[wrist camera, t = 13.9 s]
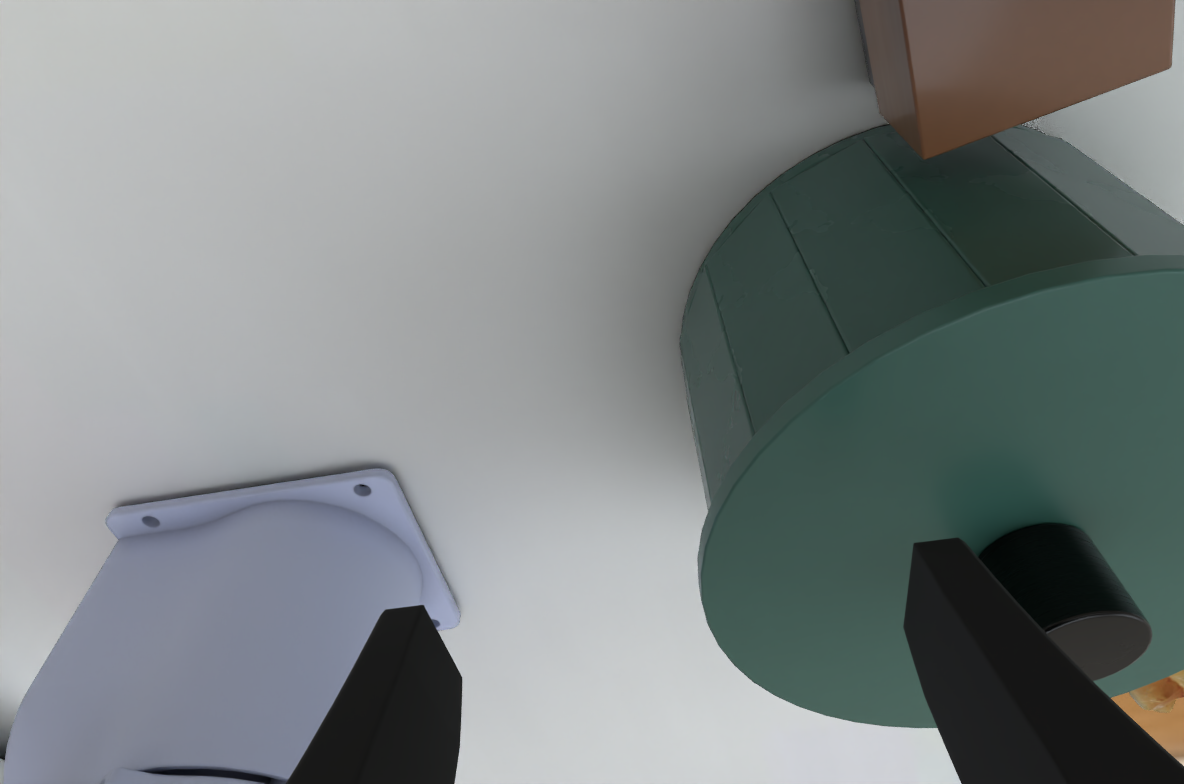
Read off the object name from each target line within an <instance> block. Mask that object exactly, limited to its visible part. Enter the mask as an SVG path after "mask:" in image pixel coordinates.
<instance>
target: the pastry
mask: <svg viewBox="0 0 1184 784" xmlns="http://www.w3.org/2000/svg"><path fill="white" fill-rule="evenodd" d="M1129 694H1130V695H1131V697H1132V698H1133V699H1134V700H1135V702H1136V703H1137V704H1138V705H1139V706H1140V707H1141V708H1143V709H1144V710H1153V711H1156V712H1161V713H1170V711H1171V710H1172V709H1173V706H1174V704H1175V701H1176V699H1178V698H1181V697H1184V670H1182V671H1180V672H1177V673H1175V674H1173V675H1171V676H1169V677H1166V678H1164V679H1161V680H1159V681H1156V682H1153V683H1151V684H1148V685H1146V686H1143V687H1140V688H1138V689H1135V690H1133V691H1130V692H1129Z"/></svg>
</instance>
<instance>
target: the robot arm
mask: <svg viewBox="0 0 1184 784" xmlns="http://www.w3.org/2000/svg"><path fill="white" fill-rule="evenodd" d="M359 484H363V485H366V486H368V487H362V486H360V485H359ZM105 523H106V525H107V527H108V528H109V529H110V530H111V532H112V533H113V534H114V535H115V536H116V537H117V539H118V542H117V543H116V545H115V546H114V548H113V550H112V551H111V553H110V555H109V556H108V558H107V560H106V561H105V563H104V565H103V566H102V568H101V570H100V571H99V573H98V575H97V576H96V578H95V580H94V581H93V583H92V585H91V586H90V588H89V590H88V591H87V593H86V595H85V596H84V598H83V600H82V601H81V603H80V605H79V606H78V608H77V609H76V611H75V613H74V614H73V616H72V618H71V619H70V621H69V623H68V624H67V626H66V628H65V629H64V631H63V633H62V634H61V636H60V638H59V639H58V641H57V643H56V644H55V646H54V648H53V649H52V651H51V653H50V654H49V656H48V658H47V659H46V661H45V663H44V664H43V666H42V668H41V669H40V671H39V672H38V674H37V676H36V677H35V679H34V681H33V682H32V684H31V686H30V687H29V689H28V691H27V692H26V694H25V696H24V698H23V700H22V702H21V704H20V706H19V708H18V711H17V714H16V716H15V719H14V722H13V725H12V727H11V732H10V736H9V740H8V744H7V749H6V755H5V764H4V784H454V782H455V776H456V769H457V762H458V755H459V748H460V730H461V706H462V676H461V674H460V673H459V671H458V669H457V667H456V665H455V663H454V661H453V659H452V657H451V656H450V654H449V652H448V650H447V648H446V646H445V644H444V642H443V640H442V639H441V637H440V635H439V633H438V630H446V629H451V628H454V627H456V626H458V624H459V622H460V616H461V615H460V611H459V609H458V607H457V604H456V602H455V600H454V598H453V596H452V594H451V592H450V590H449V588H448V586H447V584H446V582H445V579H444V577H443V575H442V573H441V571H440V569H439V567H438V565H437V563H436V561H435V559H434V557H433V555H432V552H431V550H430V548H429V546H428V544H427V542H426V540H425V538H424V536H423V534H422V532H421V530H420V527H419V525H418V523H417V521H416V519H415V517H414V515H413V513H412V511H411V509H410V507H409V505H408V503H407V500H406V498H405V496H404V494H403V492H402V490H401V488H400V486H399V484H398V482H397V480H396V478H395V476H394V475H393V474H392V473H391V472H389V471H387V470H384V469H369V470H362V471H355V472H349V473H342V474H335V475H329V476H322V477H315V478H309V479H302V480H296V481H289V482H282V483H276V484H269V485H262V486H256V487H249V488H243V489H236V490H229V491H223V492H216V493H209V494H203V495H196V496H189V497H183V498H176V499H170V500H163V501H156V502H150V503H143V504H136V505H130V506H123V507H117V508H114V509H112V511H111V512H110V513H109V515H108V516H107V518H106V522H105ZM903 628H904V631H905V635H906V638H907V641H908V645H909V648H910V651H911V655H912V658H913V661H914V665H915V668H916V671H917V674H918V677H919V681H920V684H921V687H922V690H923V693H924V696H925V699H926V701H927V704H928V706H929V709H930V711H931V713H932V716H933V718H934V720H935V723H936V725H937V728H938V730H939V732H940V735H941V737H942V739H943V742H944V744H945V746H946V749H947V751H948V753H949V756H950V758H951V760H952V763H953V765H954V767H955V770H956V772H957V774H958V776H959V779H960V781H961V783H962V784H1184V766H1183V765H1182V764H1181V763H1179V762H1178V761H1177V760H1176V759H1175V758H1174V757H1173V756H1172V755H1171V754H1169V753H1168V752H1167V751H1166V750H1165V749H1164V748H1163V747H1162V746H1161V745H1160V744H1158V743H1157V742H1156V741H1155V740H1154V739H1153V738H1152V737H1151V736H1150V735H1149V734H1148V733H1147V732H1146V731H1144V730H1143V729H1142V728H1141V727H1140V726H1139V725H1138V724H1137V723H1136V722H1135V721H1134V720H1133V719H1132V718H1131V717H1129V716H1128V715H1127V714H1126V713H1125V712H1124V711H1123V710H1122V709H1121V708H1120V707H1119V706H1118V705H1117V704H1116V703H1115V702H1114V701H1113V700H1112V699H1111V698H1110V697H1109V696H1108V695H1107V694H1106V693H1104V692H1103V691H1102V690H1101V689H1100V688H1099V687H1098V686H1097V685H1096V684H1095V683H1094V682H1093V681H1092V680H1091V679H1090V678H1089V677H1088V676H1087V675H1086V674H1085V673H1084V671H1083V670H1082V669H1081V668H1080V667H1079V666H1078V665H1077V664H1076V663H1075V662H1074V661H1073V660H1072V659H1071V658H1070V657H1069V656H1068V655H1067V654H1066V653H1065V652H1064V651H1063V650H1062V649H1061V648H1060V647H1059V646H1058V645H1057V644H1056V643H1055V642H1054V641H1053V640H1052V639H1051V638H1050V637H1049V636H1048V635H1047V634H1046V633H1045V631H1044V630H1043V629H1042V628H1041V627H1040V626H1039V625H1038V624H1037V623H1036V622H1035V621H1034V620H1033V619H1032V618H1031V616H1030V615H1029V614H1028V613H1027V612H1026V611H1025V610H1024V609H1023V608H1022V607H1021V606H1020V604H1019V603H1018V602H1017V601H1016V600H1015V599H1014V598H1013V597H1012V596H1011V594H1010V593H1009V592H1008V591H1007V590H1006V589H1005V588H1004V587H1003V585H1002V584H1001V583H1000V582H999V581H998V580H997V579H996V578H995V576H994V575H993V574H992V573H991V572H990V571H989V569H988V568H987V567H986V566H985V565H984V564H983V562H982V561H981V560H980V559H979V558H978V557H977V555H976V554H975V553H974V552H973V551H972V549H971V548H970V547H969V546H968V545H967V543H966V542H965V541H963V540H961V539H960V538H958V537H957V538H949V539H941V540H934V541H926V542H918V543H914V544H913V552H912V560H911V568H910V577H909V585H908V593H907V601H906V609H905V617H904V625H903Z"/></svg>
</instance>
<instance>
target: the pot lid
mask: <svg viewBox="0 0 1184 784" xmlns="http://www.w3.org/2000/svg"><path fill="white" fill-rule="evenodd" d="M957 537H958V538H960V539H961V540H963V541H965V542H966V543H967V545H968V546H969V547H970V548H971V549H972V551H973V552H974V553H975V554H976V555H977V557H978V558H979V559H980V560H981V561H982V562H983V564H984V565H985V566H986V567H987V568H988V569H989V571H990V572H991V573H992V574H993V575H994V576H995V578H996V579H997V580H998V581H999V582H1000V583H1001V584H1002V585H1003V587H1004V588H1005V589H1006V590H1007V591H1008V592H1009V593H1010V594H1011V596H1012V597H1013V598H1014V599H1015V600H1016V601H1017V602H1018V603H1019V604H1020V606H1021V607H1022V608H1023V609H1024V610H1025V611H1026V612H1027V613H1028V614H1029V615H1030V616H1031V618H1032V619H1033V620H1034V621H1035V622H1036V623H1037V624H1038V625H1039V626H1040V627H1041V628H1042V629H1043V630H1044V631H1045V633H1046V634H1047V635H1048V636H1049V637H1050V638H1051V639H1052V640H1053V641H1054V642H1055V643H1056V644H1057V645H1058V646H1059V647H1060V648H1061V649H1062V650H1063V651H1064V652H1065V653H1066V654H1067V655H1068V656H1069V657H1070V658H1071V659H1072V660H1073V661H1074V662H1075V663H1076V664H1077V665H1078V666H1079V667H1080V668H1081V669H1082V670H1083V671H1084V673H1085V674H1086V675H1087V676H1088V677H1089V678H1090V679H1091V680H1092V681H1093V682H1094V683H1095V684H1096V685H1097V686H1098V687H1099V688H1100V689H1101V690H1102V691H1103V692H1104V693H1106V694H1107V695H1108V696H1109V697H1110V698H1111V697H1114V696H1118V695H1121V694H1124V693H1127V692H1130V691H1133V690H1135V689H1138V688H1140V687H1143V686H1146V685H1148V684H1151V683H1153V682H1156V681H1159V680H1161V679H1164V678H1166V677H1169V676H1171V675H1173V674H1175V673H1177V672H1180V671H1182V670H1184V255H1138V256H1129V257H1120V258H1111V259H1101V260H1092V261H1085V262H1081V263H1076V264H1071V265H1067V266H1062V267H1057V268H1053V269H1048V270H1043V271H1039V272H1034V273H1030V274H1026V275H1023V276H1020V277H1017V278H1014V279H1010V280H1007V281H1004V282H1001V283H998V284H995V285H992V286H988V287H985V288H982V289H979V290H976V291H973V292H970V293H968V294H965V295H963V296H960V297H958V298H956V299H953V300H951V301H949V302H946V303H944V304H942V305H939V306H937V307H935V308H932V309H930V310H927V311H925V312H923V313H920V314H918V315H916V316H914V317H912V318H910V319H908V320H907V321H905V322H903V323H901V324H899V325H897V326H895V327H894V328H892V329H890V330H888V331H886V332H884V333H882V334H881V335H879V336H877V337H875V338H873V339H871V340H869V341H868V342H866V343H864V344H863V345H861V346H860V347H858V348H857V349H856V350H854V351H853V352H851V353H850V354H848V355H847V356H845V357H844V358H842V359H841V360H839V361H838V362H836V363H835V364H833V365H832V366H830V367H829V368H827V369H826V370H824V371H823V372H821V373H820V374H819V375H818V376H817V377H815V378H814V379H813V380H812V381H811V382H809V383H808V384H807V385H806V386H805V387H803V388H802V389H801V390H800V391H799V392H797V393H796V394H795V395H794V396H793V397H791V398H790V399H789V400H788V401H787V402H785V403H784V404H783V405H782V406H781V407H780V408H779V409H778V411H777V412H776V413H775V414H774V415H773V416H772V417H771V418H770V419H769V420H768V421H767V422H766V423H765V424H764V425H763V426H762V427H761V428H760V429H759V430H758V431H757V432H756V433H755V435H754V436H753V437H752V438H751V440H750V441H749V442H748V444H747V445H746V446H745V448H744V449H743V450H742V452H741V453H740V454H739V456H738V457H737V458H736V460H735V461H734V463H733V464H732V465H731V467H730V468H729V470H728V472H727V474H726V475H725V477H724V479H723V481H722V483H721V485H720V486H719V488H718V490H717V492H716V494H715V496H714V498H713V500H712V503H711V505H710V508H709V511H708V514H707V517H706V520H705V523H704V525H703V528H702V533H701V539H700V545H699V552H698V579H699V589H700V595H701V601H702V605H703V608H704V612H705V616H706V620H707V624H708V626H709V628H710V630H711V632H712V633H713V635H714V637H715V639H716V641H717V643H718V645H719V647H720V648H721V649H722V650H723V652H724V653H725V654H726V655H727V657H728V658H729V659H730V660H731V662H732V663H733V664H734V665H735V666H736V667H737V668H738V669H739V670H740V671H741V672H743V673H744V674H745V675H746V676H747V677H748V678H749V679H751V680H752V681H753V682H754V683H756V684H758V685H759V686H761V687H762V688H764V689H765V690H767V691H769V692H770V693H772V694H773V695H775V696H777V697H779V698H781V699H784V700H786V701H788V702H790V703H792V704H794V705H796V706H799V707H802V708H805V709H808V710H811V711H814V712H817V713H820V714H823V715H826V716H830V717H835V718H839V719H843V720H848V721H852V722H858V723H866V724H873V725H880V726H891V727H908V728H937V725H936V723H935V720H934V718H933V716H932V713H931V711H930V709H929V706H928V704H927V701H926V699H925V696H924V693H923V690H922V687H921V684H920V681H919V677H918V674H917V671H916V668H915V665H914V661H913V658H912V655H911V651H910V648H909V645H908V641H907V638H906V635H905V631H904V628H903V625H904V617H905V609H906V601H907V593H908V585H909V577H910V568H911V560H912V552H913V544H914V543H918V542H926V541H934V540H941V539H949V538H957Z"/></svg>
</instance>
